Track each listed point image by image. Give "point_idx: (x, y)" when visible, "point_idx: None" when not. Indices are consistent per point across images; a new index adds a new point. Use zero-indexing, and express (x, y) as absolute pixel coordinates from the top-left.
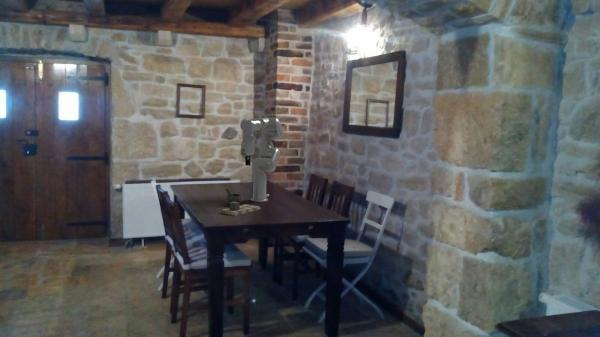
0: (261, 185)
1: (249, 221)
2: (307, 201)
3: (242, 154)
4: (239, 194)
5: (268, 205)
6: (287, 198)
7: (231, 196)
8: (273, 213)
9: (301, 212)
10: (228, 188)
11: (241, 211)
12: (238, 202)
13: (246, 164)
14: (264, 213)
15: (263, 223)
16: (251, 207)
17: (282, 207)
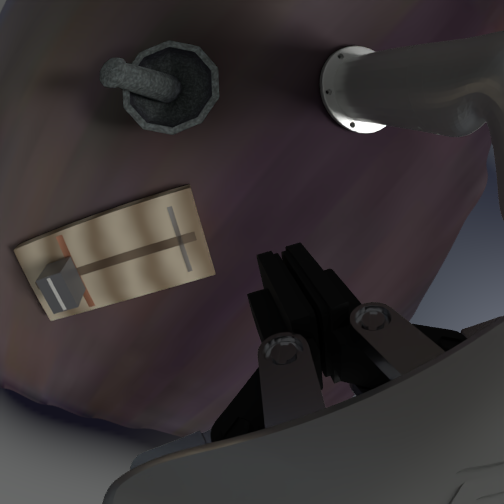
0: (401, 123)
1: (74, 389)
2: (456, 235)
3: (220, 457)
4: (215, 88)
5: (308, 212)
6: (459, 145)
7: (129, 113)
8: (209, 349)
9: None
10: (113, 80)
11: (83, 310)
12: (73, 303)
13: (264, 284)
14: (178, 335)
15: (104, 417)
16: (161, 273)
17: None
